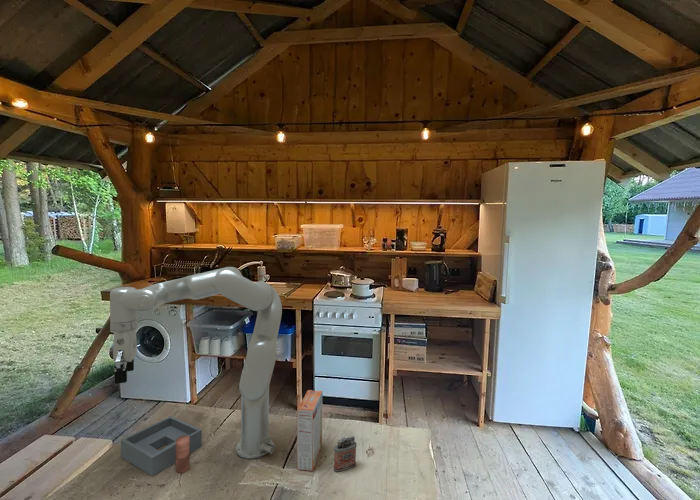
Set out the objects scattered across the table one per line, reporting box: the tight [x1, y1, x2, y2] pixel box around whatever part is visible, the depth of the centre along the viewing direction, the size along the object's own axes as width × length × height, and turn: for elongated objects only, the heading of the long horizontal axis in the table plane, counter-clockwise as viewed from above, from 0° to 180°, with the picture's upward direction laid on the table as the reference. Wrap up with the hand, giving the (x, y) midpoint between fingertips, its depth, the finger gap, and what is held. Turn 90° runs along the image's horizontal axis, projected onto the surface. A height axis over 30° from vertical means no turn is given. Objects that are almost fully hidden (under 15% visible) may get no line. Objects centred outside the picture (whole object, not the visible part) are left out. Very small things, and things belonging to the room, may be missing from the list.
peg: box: [175, 436, 190, 474], centre depth 111 cm, size 4×4×10 cm
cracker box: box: [296, 389, 323, 472], centre depth 118 cm, size 14×6×21 cm, turn 172°
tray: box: [120, 415, 203, 477], centre depth 119 cm, size 18×18×6 cm
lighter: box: [333, 435, 357, 474], centre depth 114 cm, size 8×3×10 cm, turn 117°
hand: (124, 376), depth 112 cm, fingers open, 9 cm apart
